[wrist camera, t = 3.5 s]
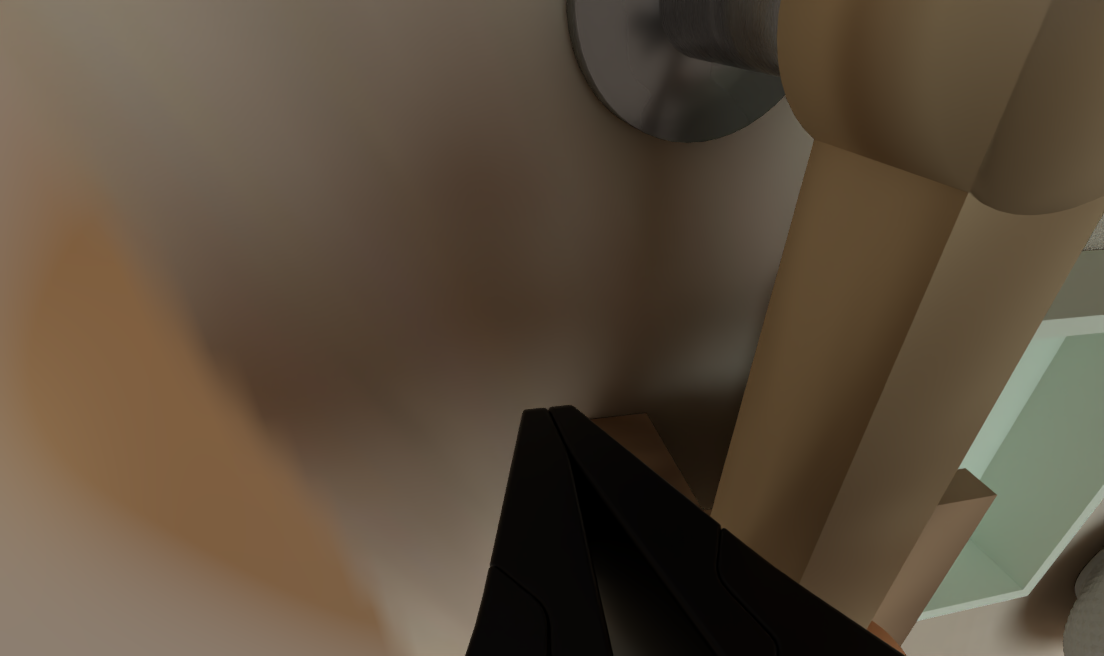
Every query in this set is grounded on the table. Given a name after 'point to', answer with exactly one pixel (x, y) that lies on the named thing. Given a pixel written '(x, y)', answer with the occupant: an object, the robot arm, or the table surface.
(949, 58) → the lever
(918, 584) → the shelf
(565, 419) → the robot arm
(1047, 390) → the tray
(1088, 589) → the cereal bowl
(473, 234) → the table surface
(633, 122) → the pivot post
